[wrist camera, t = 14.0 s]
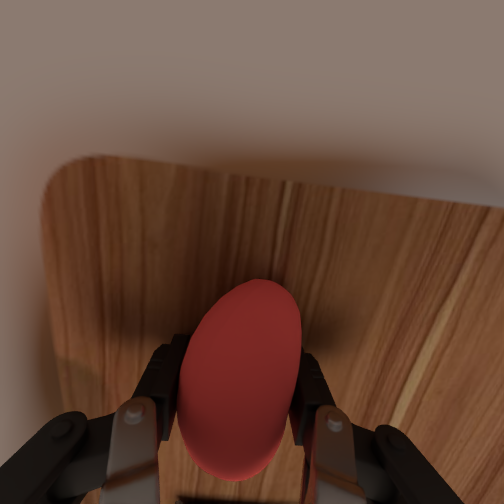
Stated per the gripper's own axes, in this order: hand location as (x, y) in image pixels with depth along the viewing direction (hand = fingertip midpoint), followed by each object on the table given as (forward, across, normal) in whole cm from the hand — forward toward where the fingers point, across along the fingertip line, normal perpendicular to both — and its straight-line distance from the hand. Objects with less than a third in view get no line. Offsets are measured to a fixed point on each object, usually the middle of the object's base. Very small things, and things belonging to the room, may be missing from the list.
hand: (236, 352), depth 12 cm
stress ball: (+1, 0, 0) cm, 1 cm away
